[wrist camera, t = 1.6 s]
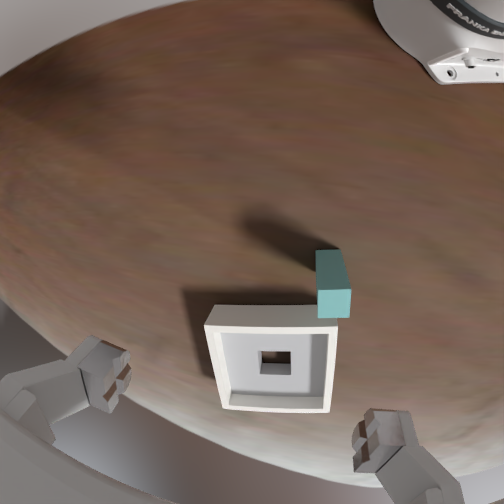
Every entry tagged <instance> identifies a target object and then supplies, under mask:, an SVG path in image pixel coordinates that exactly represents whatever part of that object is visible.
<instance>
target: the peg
mask: <svg viewBox="0 0 504 504" xmlns="http://www.w3.org/2000/svg"><path fill="white" fill-rule="evenodd" d="M316 287H317V312H318V318H346V317H349V314H350V300H351V287H350V283H349V279H348V275H347V271H346V268H345V264H344V260H343V257H342V253H341V250H340V249H339V250H316Z"/></svg>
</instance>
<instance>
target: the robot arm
mask: <svg viewBox="0 0 504 504" xmlns="http://www.w3.org/2000/svg"><path fill="white" fill-rule="evenodd" d="M373 3H374V8H375V12H376V14H377V17H378V19H379V21H380V23H381V25H382V26H383V28H384V29H385V31H386V32H387V33H388V35H389V36H390V37H391V38H392V39H393V40H394V41H395V42H396V43H397V44H398V45H399V46H400V47H401V48H402V49H403V50H405V51H406V52H407V53H409V54H410V55H412V56H413V57H414V58H416V59H417V60H418V61H420V62H421V63H422V64H423V66H424V67H425V69H426V70H427V71H428V73H429V74H430V76H431V77H432V78H433V79H434V80H435V81H436V82H437V83H439V84H462V83H504V0H373ZM447 71H449V72H450V74H451V77H450V76H449V75H448V73H447ZM129 360H130V352H129V351H127V350H125V349H123V348H120V347H118V346H116V345H113V344H111V343H109V342H107V341H104V340H102V339H99V338H97V337H95V336H93V335H91V336H88V337H87V338H86V339H85V340H84V341H83V342H82V343H81V344H80V345H79V346H78V347H77V348H76V349H75V350H74V351H73V352H72V353H71V354H70V355H69V357H68V358H67V359H66V360H65V361H63V360H58V361H54V362H51V363H47V364H44V365H40V366H36V367H33V368H29V369H25V370H22V371H18V372H14V373H10V374H7V375H6V376H5V377H4V378H3V379H2V380H1V381H0V504H177V503H174V502H171V501H168V500H165V499H162V498H159V497H156V496H154V495H151V494H148V493H145V492H143V491H140V490H138V489H136V488H133V487H131V486H128V485H126V484H124V483H121V482H119V481H117V480H115V479H113V478H110V477H108V476H106V475H104V474H102V473H100V472H98V471H96V470H94V469H92V468H90V467H88V466H86V465H84V464H83V463H81V462H79V461H77V460H75V459H73V458H72V457H70V456H68V455H67V454H65V453H63V452H62V451H60V450H58V449H56V448H55V447H53V446H52V444H53V443H54V441H55V436H54V434H53V432H52V430H51V428H50V426H49V425H50V424H53V423H55V422H57V421H59V420H61V419H63V418H65V417H67V416H70V415H71V414H74V413H75V412H78V411H79V410H82V409H84V408H86V407H88V406H89V405H92V406H94V407H96V408H98V409H100V410H103V411H105V412H107V413H110V414H111V412H112V411H113V409H114V408H115V406H116V405H117V403H118V401H119V400H118V395H119V394H121V393H124V392H125V391H126V389H127V387H128V385H129V383H130V380H131V367H130V366H129V365H128V362H129ZM352 447H353V449H354V450H355V451H356V454H355V455H354V456H353V466H354V472H358V473H376V474H375V475H376V476H377V478H378V479H379V481H380V482H381V484H382V485H383V487H384V488H385V490H386V491H387V493H388V494H389V496H390V497H391V499H392V500H393V502H394V503H395V504H465V503H464V498H463V494H462V490H461V486H460V483H459V482H458V481H457V480H456V479H455V478H454V477H453V476H452V475H451V474H450V473H449V472H448V471H447V470H446V469H445V468H444V467H443V466H442V465H441V464H440V463H439V462H438V461H437V460H436V459H435V458H434V457H433V456H432V455H431V454H430V453H429V452H428V451H427V450H426V449H425V448H424V447H423V446H419V443H418V439H417V436H416V432H415V428H414V425H413V421H412V418H411V414H410V413H409V411H399V410H385V409H372V408H370V409H369V410H367V411H366V413H365V414H364V420H363V421H361V422H359V423H358V424H357V426H356V427H355V429H354V432H353V435H352ZM490 504H504V499H501V500H498V501H496V502H493V503H490Z"/></svg>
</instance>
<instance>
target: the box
mask: <svg viewBox="0 0 504 504" xmlns="http://www.w3.org/2000/svg"><path fill="white" fill-rule="evenodd" d="M204 329H205V333H206V338H207V343H208V347H209V352H210V356H211V361H212V365H213V369H214V374H215V378H216V382H217V386H218V390H219V394H220V398H221V402H222V406H223V408H224V409H234V410H246V411H261V412H283V413H329V411H330V404H331V395H332V387H333V377H334V368H335V357H336V345H337V331H338V324H337V318H318V312H317V305H214V307H213V309H212V311H211V313H210V314H209V316H208V318H207V320H206V322H205V324H204ZM261 351H291V364H280V363H262V355H261Z"/></svg>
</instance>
